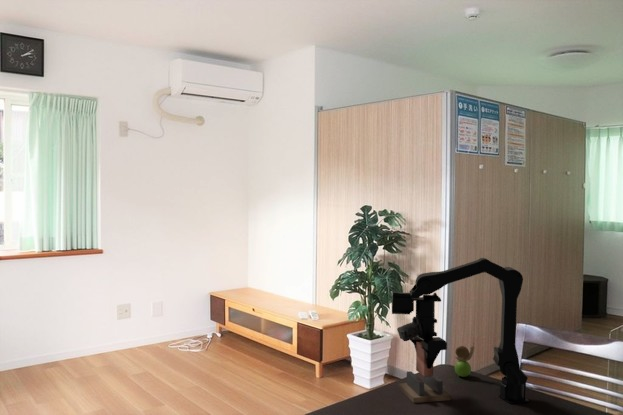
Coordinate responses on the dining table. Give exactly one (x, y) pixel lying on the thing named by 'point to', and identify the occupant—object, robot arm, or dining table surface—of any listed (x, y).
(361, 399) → the dining table surface
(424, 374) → the reddish brown block
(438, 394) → the bookend shelf
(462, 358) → the snail figurine
